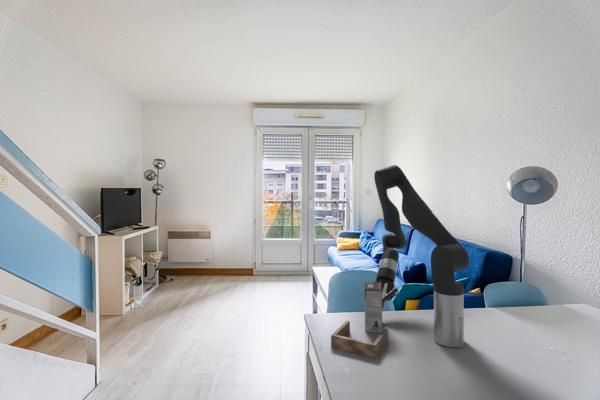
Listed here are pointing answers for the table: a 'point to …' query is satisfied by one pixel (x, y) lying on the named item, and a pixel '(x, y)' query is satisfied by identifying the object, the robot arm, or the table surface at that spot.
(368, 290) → the coffee box
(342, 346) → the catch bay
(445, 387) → the table surface
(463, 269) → the robot arm
